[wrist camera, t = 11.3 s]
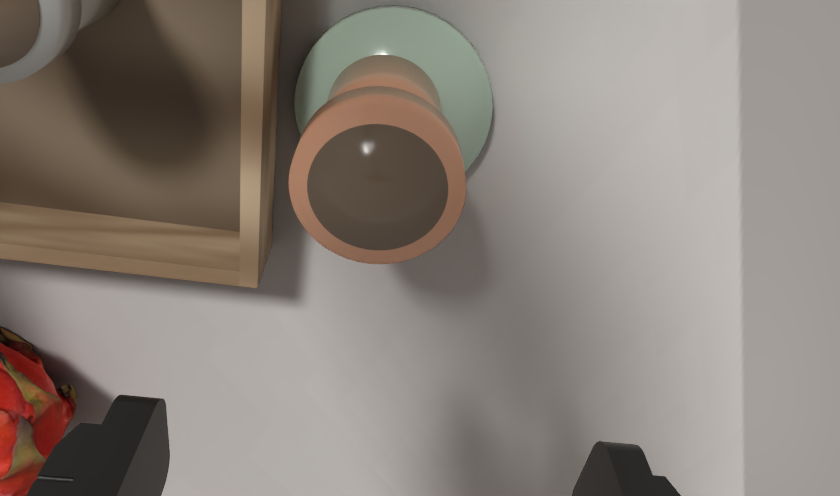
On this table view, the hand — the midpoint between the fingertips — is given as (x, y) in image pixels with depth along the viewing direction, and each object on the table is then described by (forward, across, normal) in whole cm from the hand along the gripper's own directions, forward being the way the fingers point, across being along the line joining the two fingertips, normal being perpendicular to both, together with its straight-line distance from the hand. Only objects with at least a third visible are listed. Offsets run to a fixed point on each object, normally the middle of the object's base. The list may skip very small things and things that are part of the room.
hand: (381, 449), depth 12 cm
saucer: (+18, 0, 0) cm, 19 cm away
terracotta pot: (+18, 0, 0) cm, 18 cm away
